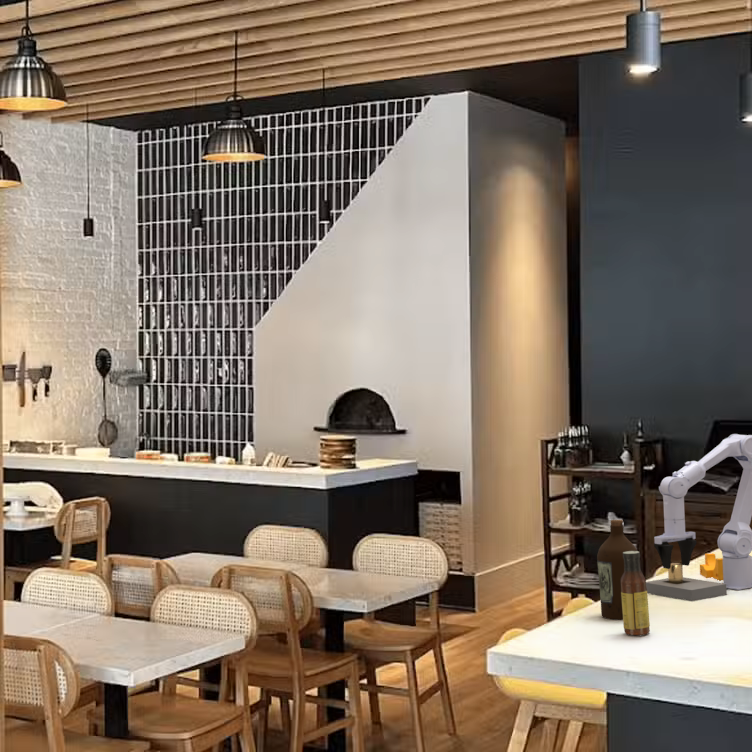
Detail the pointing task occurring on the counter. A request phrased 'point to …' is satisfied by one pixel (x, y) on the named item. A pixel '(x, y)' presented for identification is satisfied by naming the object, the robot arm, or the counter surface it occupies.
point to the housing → (686, 589)
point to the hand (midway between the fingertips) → (676, 566)
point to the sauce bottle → (634, 596)
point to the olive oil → (612, 570)
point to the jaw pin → (675, 573)
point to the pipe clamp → (712, 567)
